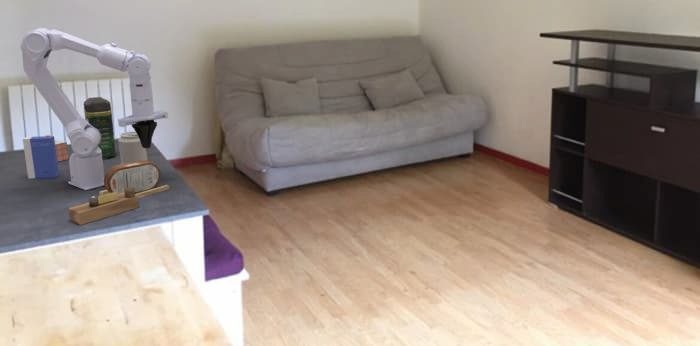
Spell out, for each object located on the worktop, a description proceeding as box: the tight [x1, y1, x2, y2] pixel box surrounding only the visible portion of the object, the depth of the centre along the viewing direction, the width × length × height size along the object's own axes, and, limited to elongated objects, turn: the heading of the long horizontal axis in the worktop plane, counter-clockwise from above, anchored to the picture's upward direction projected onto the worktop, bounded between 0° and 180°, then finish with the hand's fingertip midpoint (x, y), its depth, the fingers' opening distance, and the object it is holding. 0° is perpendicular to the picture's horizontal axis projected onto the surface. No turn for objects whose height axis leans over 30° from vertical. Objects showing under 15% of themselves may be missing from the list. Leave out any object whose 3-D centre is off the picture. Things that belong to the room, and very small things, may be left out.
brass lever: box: [87, 192, 118, 206], centre depth 170 cm, size 7×2×2 cm, turn 138°
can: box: [117, 130, 148, 164], centre depth 202 cm, size 8×8×12 cm
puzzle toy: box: [55, 139, 70, 163], centre depth 217 cm, size 6×6×6 cm
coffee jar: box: [83, 96, 116, 160], centre depth 219 cm, size 10×8×19 cm
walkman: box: [22, 134, 60, 180], centre depth 199 cm, size 8×3×12 cm, turn 96°
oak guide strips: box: [99, 184, 170, 199], centre depth 188 cm, size 10×15×1 cm, turn 140°
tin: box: [104, 159, 161, 194], centre depth 186 cm, size 15×3×8 cm, turn 130°
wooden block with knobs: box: [68, 187, 140, 226], centre depth 171 cm, size 5×16×5 cm, turn 140°
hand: (146, 147), depth 194 cm, fingers closed
